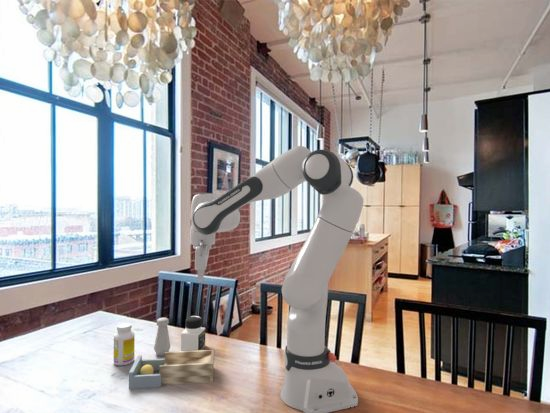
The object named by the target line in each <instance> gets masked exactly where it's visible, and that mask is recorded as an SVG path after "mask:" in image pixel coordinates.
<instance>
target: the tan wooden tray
mask: <svg viewBox="0 0 550 413" xmlns="http://www.w3.org/2000/svg"><path fill="white" fill-rule="evenodd" d="M214 355H215V350H214V349H205V350H204V349H201V350H198V351H181V350H180V351H179V350H178V351H168V352H165V355H164V358H165V364H164V365H160V369H159V374H161V378H162V380H161V386H167V385H169V386H170V385H172V386H173V385H184V384H186V385H187V384H199V383H200V384H201V383H202V384H203V383H214V365H215V364H214V363H215V362H214V359H215V358H214V357H215V356H214Z"/></svg>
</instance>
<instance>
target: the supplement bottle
mask: <svg viewBox="0 0 550 413" xmlns="http://www.w3.org/2000/svg"><path fill="white" fill-rule="evenodd" d="M132 327H133V325H132V323H131V322H130V323H129V322H123V323H119V324H117V325H116V331H117V332H115V333H114V335H113V363H114V365H116V366H126V365H129V364H132V363H134V360H135V332H134V331H133V330H132Z"/></svg>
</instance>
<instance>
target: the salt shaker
mask: <svg viewBox="0 0 550 413" xmlns="http://www.w3.org/2000/svg"><path fill="white" fill-rule="evenodd" d="M169 321H170V319H169V318H167V317H159V318H157V319H156V326H157V330H156V336H155V342H154V344H153V350H154V352H155V354H156V356H158V357H163V356H165V352H170V349H171V341H170V335H169V329H168V325H169Z"/></svg>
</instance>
